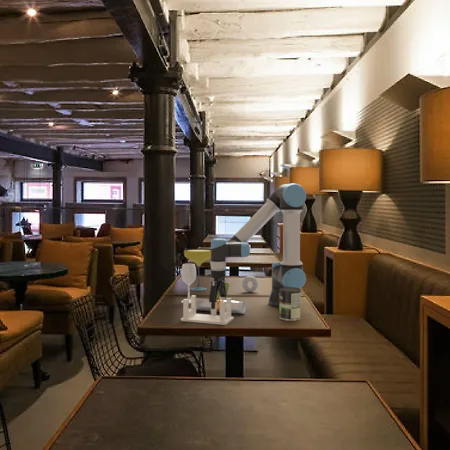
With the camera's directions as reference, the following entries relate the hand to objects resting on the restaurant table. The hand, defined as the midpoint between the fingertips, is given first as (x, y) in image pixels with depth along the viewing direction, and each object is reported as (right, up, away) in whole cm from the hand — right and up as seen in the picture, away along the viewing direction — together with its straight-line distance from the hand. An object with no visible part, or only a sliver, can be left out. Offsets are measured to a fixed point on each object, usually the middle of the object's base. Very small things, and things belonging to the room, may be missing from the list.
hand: (218, 312), depth 243 cm
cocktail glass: (-13, +3, +64) cm, 65 cm away
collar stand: (-5, -1, -14) cm, 15 cm away
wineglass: (-16, +1, +26) cm, 31 cm away
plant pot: (+2, +1, +35) cm, 35 cm away
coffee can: (+35, -1, -11) cm, 36 cm away
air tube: (0, 0, 0) cm, 1 cm away
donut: (+19, +2, +55) cm, 58 cm away
